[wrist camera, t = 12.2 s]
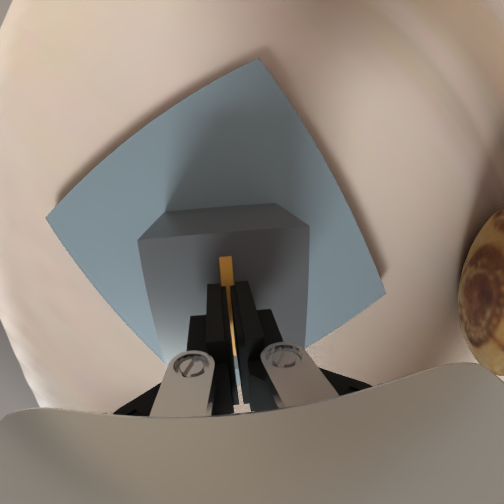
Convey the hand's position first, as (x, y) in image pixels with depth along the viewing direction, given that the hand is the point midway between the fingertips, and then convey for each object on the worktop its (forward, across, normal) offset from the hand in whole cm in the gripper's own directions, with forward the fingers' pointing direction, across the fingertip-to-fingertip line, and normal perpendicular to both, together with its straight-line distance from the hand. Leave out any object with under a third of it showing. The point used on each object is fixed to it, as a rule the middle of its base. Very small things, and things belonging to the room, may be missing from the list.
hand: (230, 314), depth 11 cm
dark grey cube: (+7, 0, 0) cm, 7 cm away
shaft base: (+9, 0, 0) cm, 9 cm away
